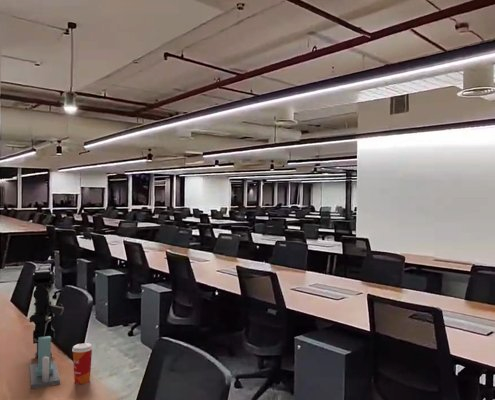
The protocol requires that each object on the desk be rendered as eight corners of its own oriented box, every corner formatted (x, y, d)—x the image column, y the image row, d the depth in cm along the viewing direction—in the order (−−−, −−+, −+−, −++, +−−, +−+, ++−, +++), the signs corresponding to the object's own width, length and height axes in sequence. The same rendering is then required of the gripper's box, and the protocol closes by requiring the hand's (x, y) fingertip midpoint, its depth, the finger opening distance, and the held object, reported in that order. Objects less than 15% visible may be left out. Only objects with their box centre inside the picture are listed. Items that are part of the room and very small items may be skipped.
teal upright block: (36, 372, 178) (36, 337, 178) (52, 369, 181) (52, 335, 181) (36, 380, 170) (37, 344, 170) (53, 377, 173) (54, 341, 173)
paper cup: (72, 379, 176) (72, 343, 176) (92, 376, 179) (92, 341, 179) (71, 386, 169) (71, 350, 169) (92, 383, 171) (93, 347, 171)
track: (29, 368, 187) (29, 343, 187) (55, 364, 192) (55, 340, 192) (31, 388, 167) (31, 360, 167) (60, 383, 171) (60, 356, 171)
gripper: (57, 299, 185) (58, 337, 183) (66, 296, 203) (66, 331, 201) (28, 301, 183) (29, 340, 180) (39, 299, 201) (40, 334, 198)
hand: (42, 336), depth 190 cm, fingers closed
